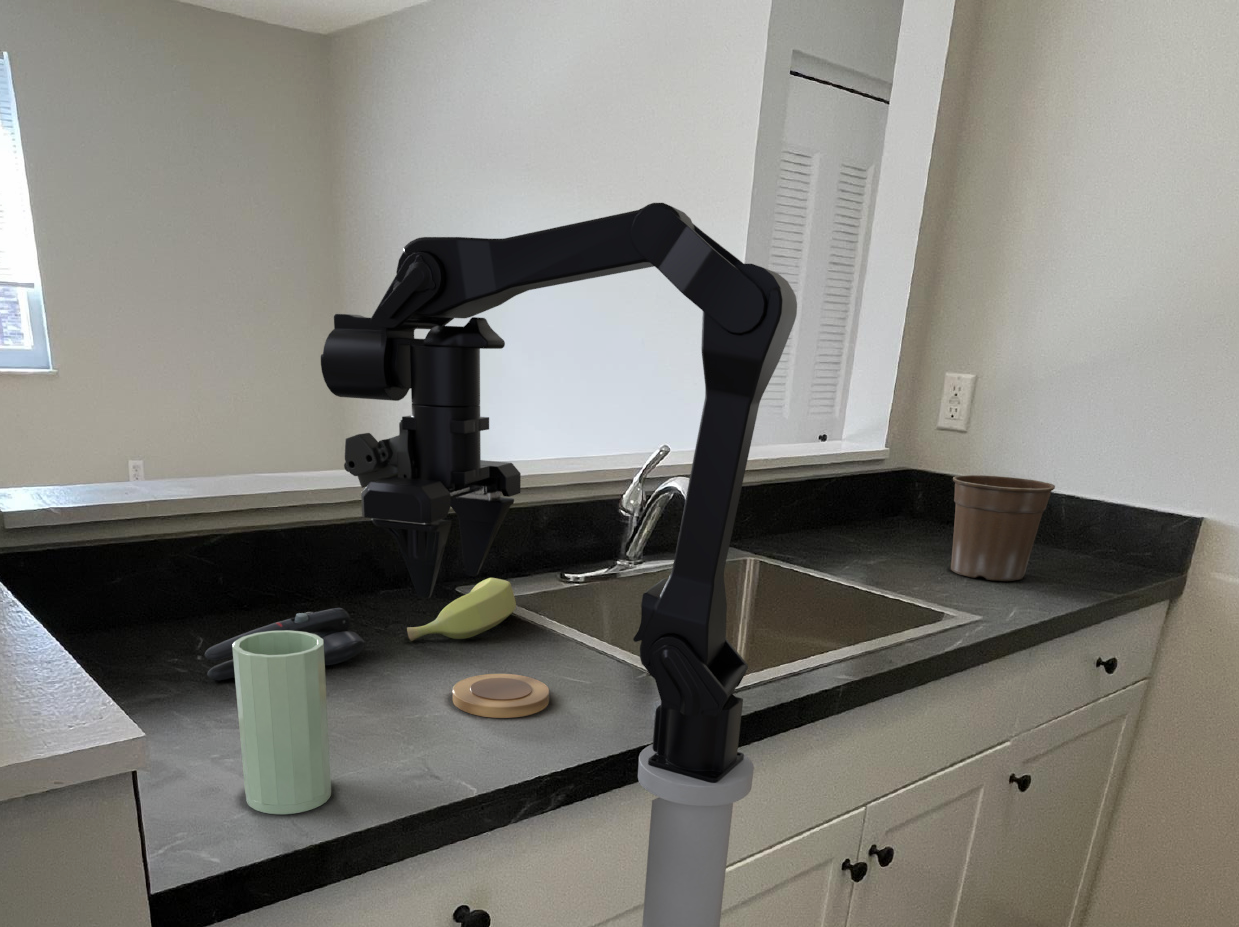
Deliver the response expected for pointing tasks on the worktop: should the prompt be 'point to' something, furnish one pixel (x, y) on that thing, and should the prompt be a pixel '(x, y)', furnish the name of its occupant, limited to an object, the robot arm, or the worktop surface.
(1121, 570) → the worktop surface
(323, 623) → the can opener
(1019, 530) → the plant pot
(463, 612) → the banana
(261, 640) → the tumbler
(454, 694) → the coaster
